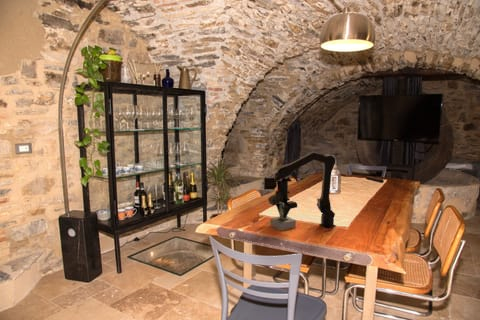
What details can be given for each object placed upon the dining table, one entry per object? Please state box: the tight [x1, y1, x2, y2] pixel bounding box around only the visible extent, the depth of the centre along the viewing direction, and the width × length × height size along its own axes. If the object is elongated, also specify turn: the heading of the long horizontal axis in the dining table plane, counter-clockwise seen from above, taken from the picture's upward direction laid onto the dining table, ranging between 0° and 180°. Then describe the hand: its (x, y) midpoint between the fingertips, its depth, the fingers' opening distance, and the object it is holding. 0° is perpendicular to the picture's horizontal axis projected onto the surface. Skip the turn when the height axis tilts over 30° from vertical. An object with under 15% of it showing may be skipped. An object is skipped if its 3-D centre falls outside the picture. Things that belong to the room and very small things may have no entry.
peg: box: [279, 204, 286, 221], centre depth 177 cm, size 4×4×10 cm
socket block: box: [269, 216, 297, 232], centre depth 178 cm, size 10×10×4 cm
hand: (282, 216), depth 178 cm, fingers closed on peg, 4 cm apart
